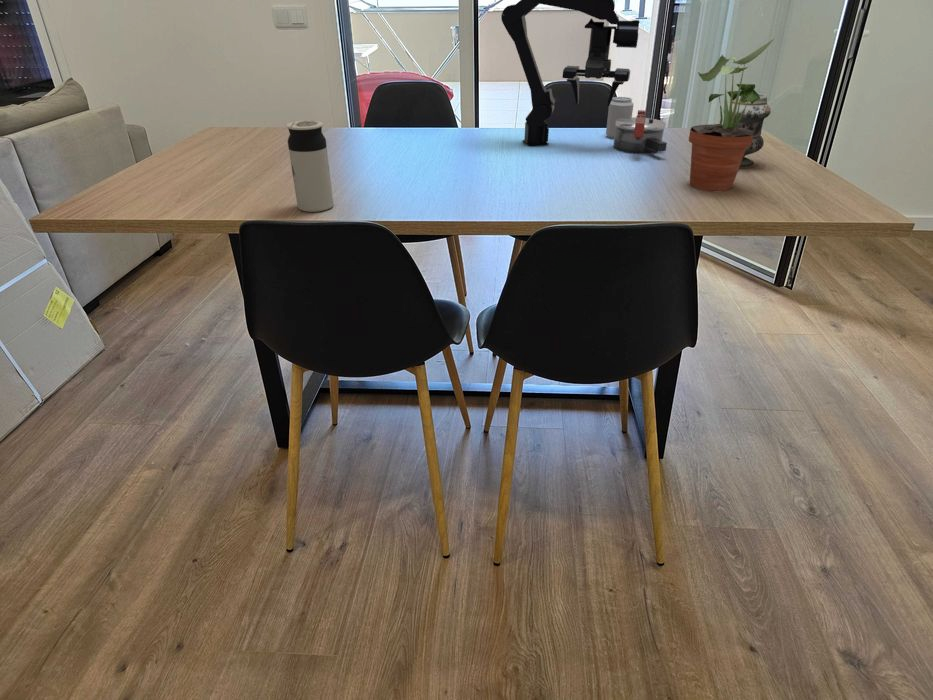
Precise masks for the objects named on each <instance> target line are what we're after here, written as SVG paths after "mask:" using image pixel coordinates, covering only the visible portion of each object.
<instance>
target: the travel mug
mask: <svg viewBox="0 0 933 700" xmlns="http://www.w3.org/2000/svg"><path fill="white" fill-rule="evenodd" d="M323 125H324V124H323V122H321V121H319V120H308V119H307V120H306V119H304V120H296V121H292V122H291V121H290V122H288V123H287V124H286V128H287V129H288V130H287V131H288V133H289V136H288V139H287V147H288V153H289V159H290V160H289V161H290V166H291V172H292V179H293V185H294V192H295V199H296V200H295V201H296V205H297V208H298V210H300V211H304V212H307V213H319V212H324V211H327V210H329V209H331V208H333V207H334V197H333V189H332V179H331V172H330V163H329V155H328V148H327V147H328V146H327V139H326V137H325V135H324V134H323V131H322V129H323Z"/></svg>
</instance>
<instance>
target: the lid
mask: <svg viewBox="0 0 933 700" xmlns="http://www.w3.org/2000/svg"><path fill="white" fill-rule="evenodd" d="M646 115H647V110H645V109H643V110H642V109H641V110H639V109H638V110H637V115H636V117H632V118H621V119H618V120H616V123H615V126H616V127H617V128H620V129H623V130H629V131H634V136H633V137H641V138H643V134H644V132H652V131H660V130H663V129H664V130H665V128H666V122H665V121H663V120H660V119H656V118H649V117H647V116H646Z"/></svg>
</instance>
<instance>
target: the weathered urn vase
mask: <svg viewBox="0 0 933 700" xmlns="http://www.w3.org/2000/svg"><path fill="white" fill-rule="evenodd" d="M757 93H758V95H759V97H760V99H759V100H757V101H754V102H753V104H751V102H750V99H749V101H747V102H748V104H747V102H745V103H743V102H740V106H739V112H738V118H739V117H740V116H741V114H742V112H743V110H744V108H745V106H746V104H747V106H746V108H745V110H744V113H743V115H742V117H741V120H740V121H739V122H738V123H737V125H736V126H737V127H742V128H746V129H749V130H752V131H753V132H754V135H753V139H752V142H751V146H750V147H747V148H746V151H745V153H744V156H743V159H742V161H741V164H740V167H739V169H744V168H746V169H747V168H751V167H754V165H755V161H753V160H752V159H750V158H748V157H746V156H748V155H751V154H755V153H757V152H758V151H761V149H762V148H763V147H764V143H765V142H764V138H763V136H761V135H762V130H763V124H764V120H765V119H767V118H768V117H769V116H770V114H771V113H772V107H771V106H770V104H769V103H768V95H767V94H765V93H759V92H757ZM742 96H743V95H742ZM736 98H737V97H736ZM740 98H741V96H739V99H738V104H737V109H736V114H735V118H734V123H735V119H736V115H737V110H738V105H739V101H740ZM735 102H736V99H735V100H732V113H733V110H734V106H735ZM727 104H728V111H729V106H730V101H729V102H728V101H727ZM722 113H724V107H722ZM738 118H737V120H738ZM730 121H731V120H730Z"/></svg>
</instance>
